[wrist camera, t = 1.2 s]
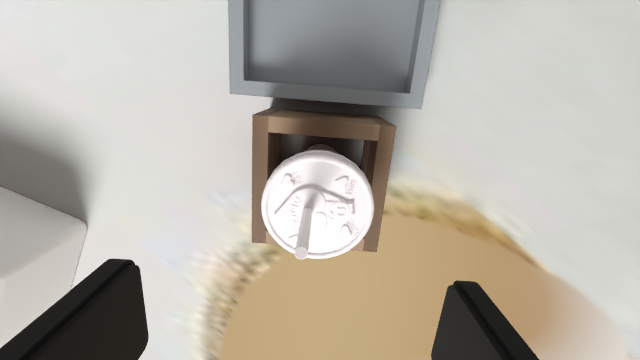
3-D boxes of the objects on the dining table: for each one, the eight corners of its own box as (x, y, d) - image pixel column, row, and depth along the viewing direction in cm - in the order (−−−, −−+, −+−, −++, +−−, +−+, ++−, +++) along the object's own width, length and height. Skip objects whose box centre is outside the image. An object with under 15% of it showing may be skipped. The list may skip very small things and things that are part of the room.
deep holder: (379, 116, 24) (396, 126, 18) (365, 216, 27) (376, 251, 21) (269, 108, 24) (252, 115, 18) (267, 209, 27) (251, 242, 21)
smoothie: (279, 131, 25) (224, 184, 11) (355, 125, 24) (391, 172, 11) (288, 202, 27) (250, 319, 13) (359, 197, 26) (393, 311, 13)
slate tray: (441, -73, 20) (457, -94, 18) (411, 106, 24) (421, 109, 21) (238, -90, 20) (226, -113, 18) (239, 93, 24) (229, 93, 21)
